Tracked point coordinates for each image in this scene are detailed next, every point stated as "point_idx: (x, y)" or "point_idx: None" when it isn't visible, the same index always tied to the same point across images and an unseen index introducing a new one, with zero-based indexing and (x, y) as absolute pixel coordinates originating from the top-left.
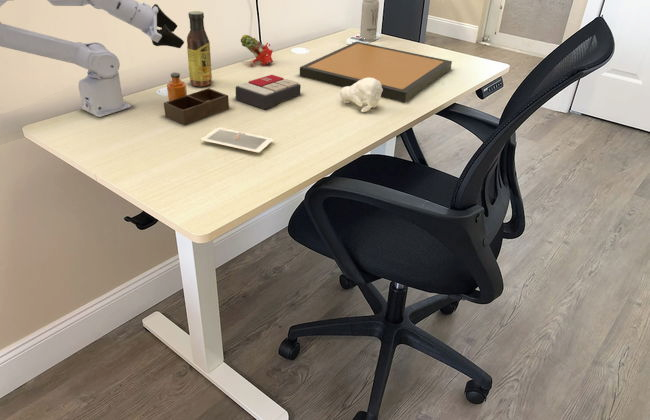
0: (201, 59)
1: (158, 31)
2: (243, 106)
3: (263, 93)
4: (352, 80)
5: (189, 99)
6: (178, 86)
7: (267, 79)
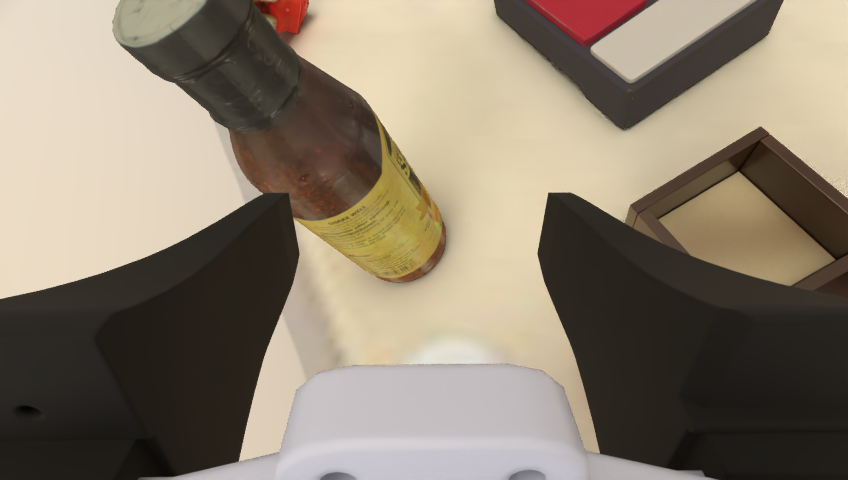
0: (407, 178)
1: (814, 474)
2: (710, 108)
3: None
4: None
5: None
6: None
7: None
